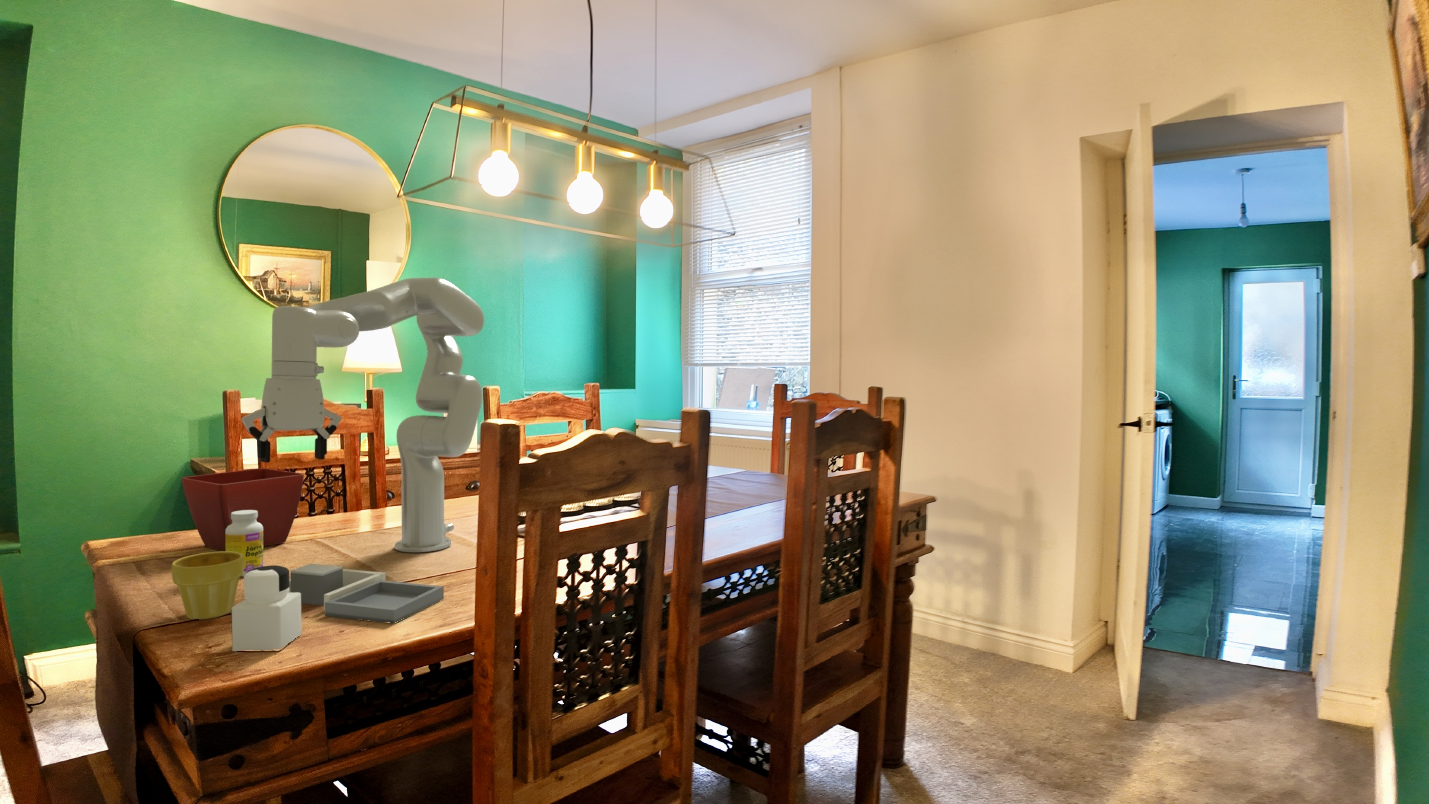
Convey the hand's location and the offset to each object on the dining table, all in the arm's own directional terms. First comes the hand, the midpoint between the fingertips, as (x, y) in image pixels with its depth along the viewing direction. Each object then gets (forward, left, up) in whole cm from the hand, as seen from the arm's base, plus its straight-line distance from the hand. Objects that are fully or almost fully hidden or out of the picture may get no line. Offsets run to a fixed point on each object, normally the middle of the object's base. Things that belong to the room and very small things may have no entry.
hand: (293, 460), depth 142 cm
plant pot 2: (+15, -3, -25) cm, 30 cm away
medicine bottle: (+24, +18, -25) cm, 39 cm away
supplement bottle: (-6, -18, -25) cm, 32 cm away
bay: (+2, +9, -25) cm, 27 cm away
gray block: (+4, +9, -25) cm, 27 cm away
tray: (+4, +24, -25) cm, 35 cm away
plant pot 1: (-25, -38, -26) cm, 52 cm away
